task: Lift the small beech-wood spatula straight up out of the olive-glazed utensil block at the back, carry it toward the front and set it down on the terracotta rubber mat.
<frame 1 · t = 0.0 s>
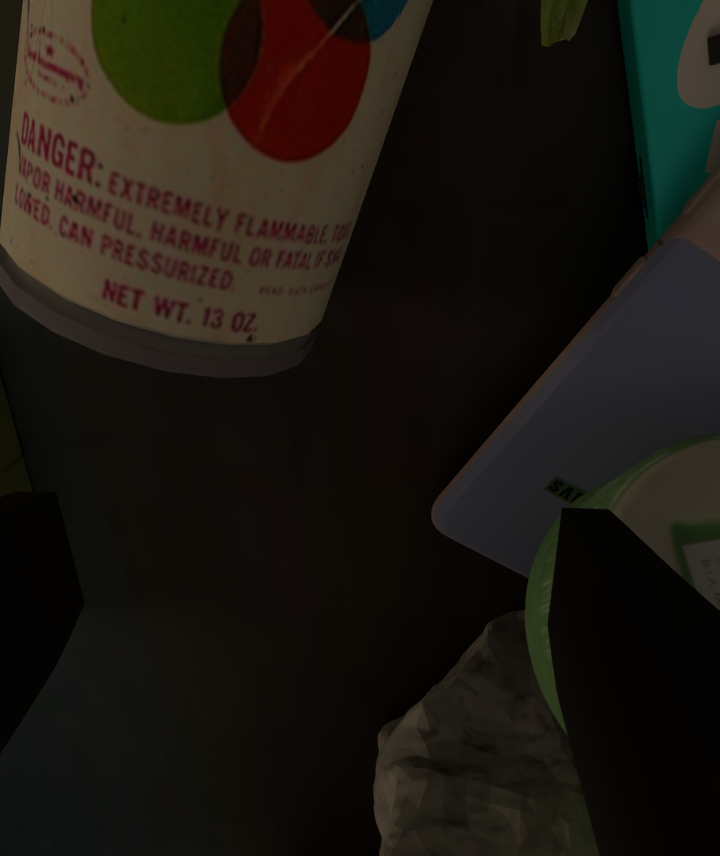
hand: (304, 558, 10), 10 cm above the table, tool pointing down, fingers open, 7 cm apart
decorative stone: (505, 712, 25), on the table, touching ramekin
aerosol can: (164, 306, 15), point 3 cm above the table, touching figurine, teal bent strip, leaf
smartphone 2: (512, 573, 21), point 1 cm above the table, touching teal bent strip, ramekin
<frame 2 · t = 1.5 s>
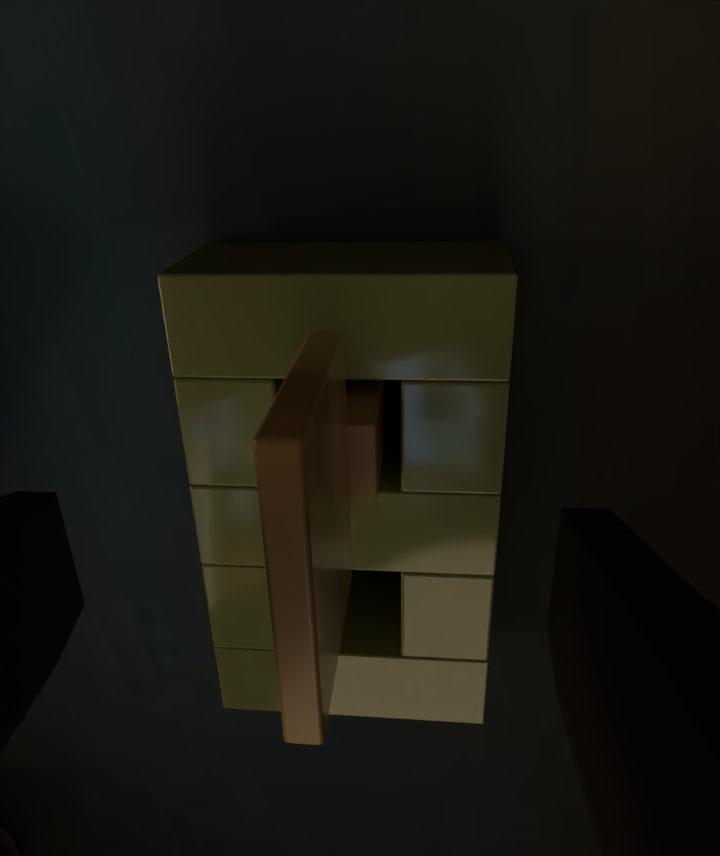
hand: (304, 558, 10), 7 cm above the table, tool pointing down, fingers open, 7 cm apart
spatula: (355, 380, 16), resting in utensil block
utensil block: (357, 462, 17), on the table
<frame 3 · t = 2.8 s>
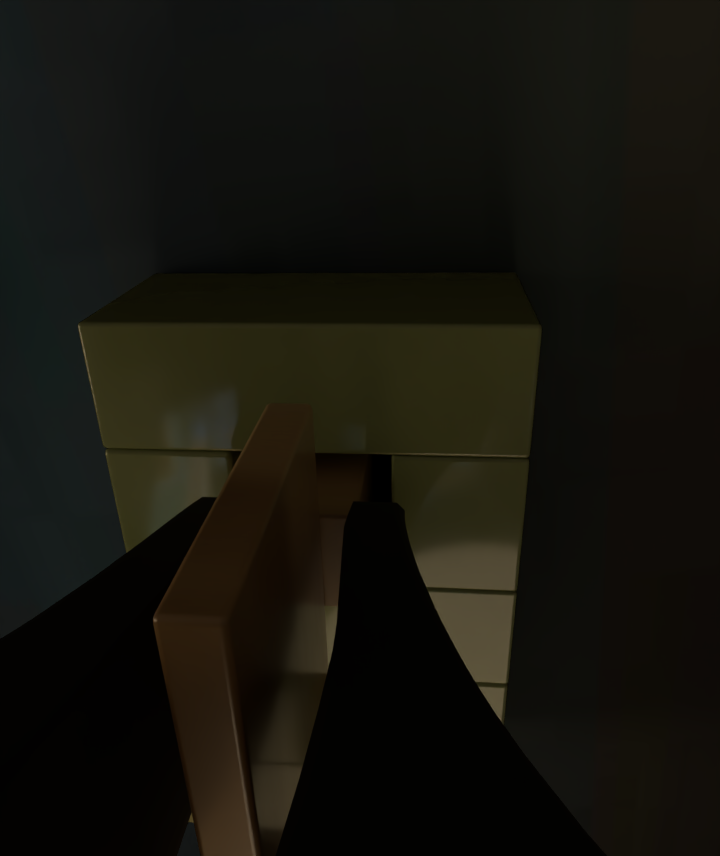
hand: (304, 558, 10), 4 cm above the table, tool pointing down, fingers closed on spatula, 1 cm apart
spatula: (337, 436, 13), resting in utensil block, touching gripper
utensil block: (342, 530, 14), on the table
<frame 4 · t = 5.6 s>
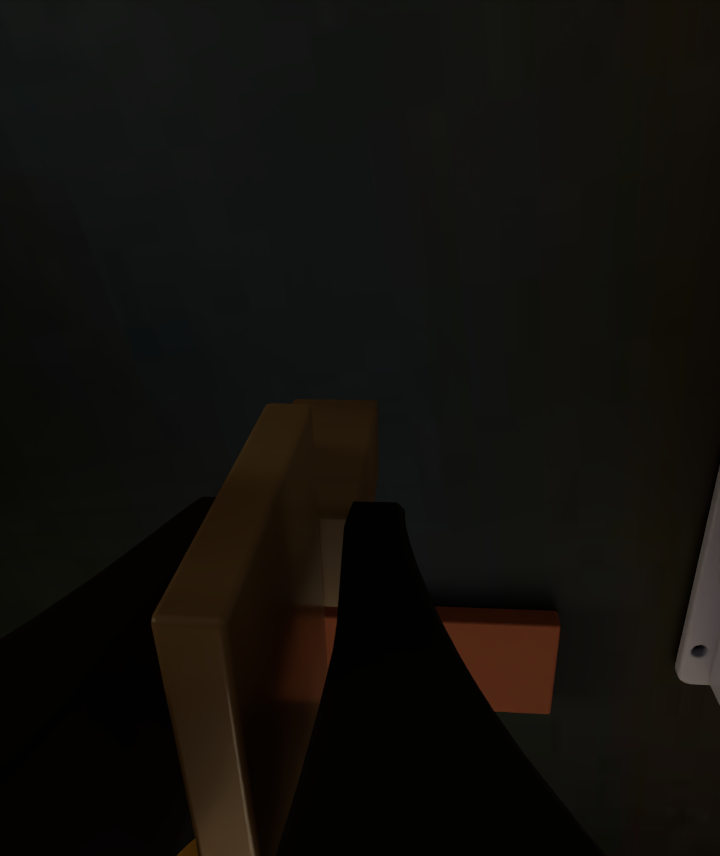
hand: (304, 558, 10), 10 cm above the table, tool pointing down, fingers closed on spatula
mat: (378, 647, 24), on the table
spatula: (337, 436, 13), point 6 cm above the table, touching gripper
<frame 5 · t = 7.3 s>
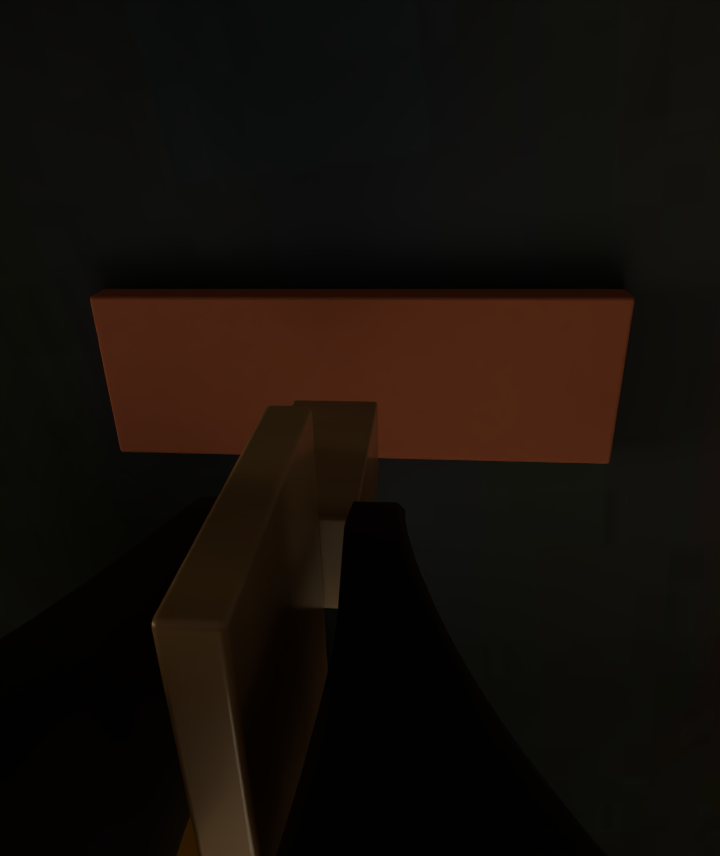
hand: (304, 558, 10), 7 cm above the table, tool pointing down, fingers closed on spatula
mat: (357, 369, 16), on the table
apple: (279, 700, 21), on the table, touching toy
spatula: (337, 437, 13), point 4 cm above the table, touching gripper
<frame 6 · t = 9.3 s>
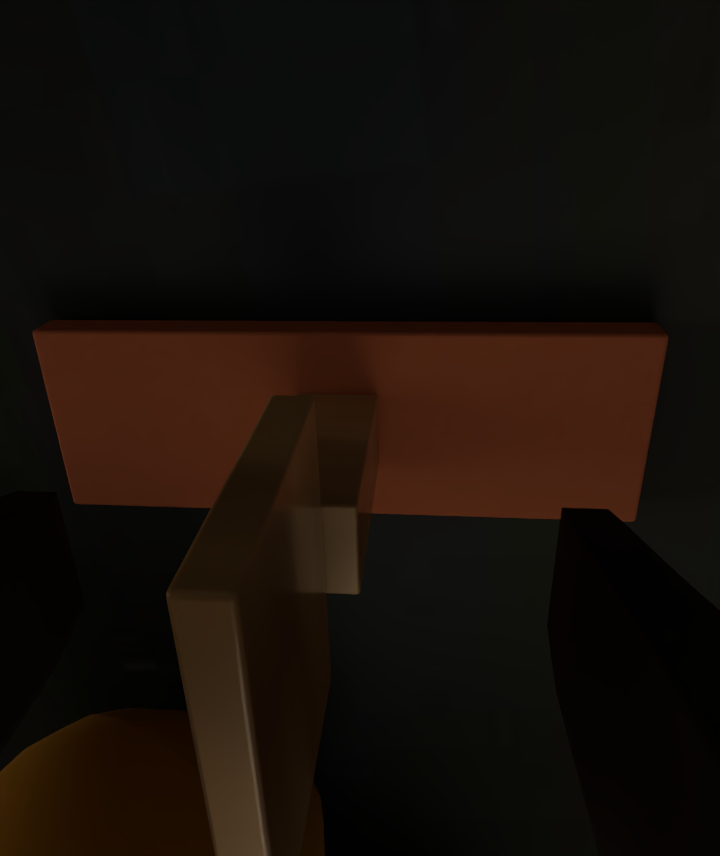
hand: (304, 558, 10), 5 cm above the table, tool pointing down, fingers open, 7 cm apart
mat: (344, 412, 14), on the table
apple: (261, 769, 19), on the table, touching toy
spatula: (338, 430, 14), point 1 cm above the table, touching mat
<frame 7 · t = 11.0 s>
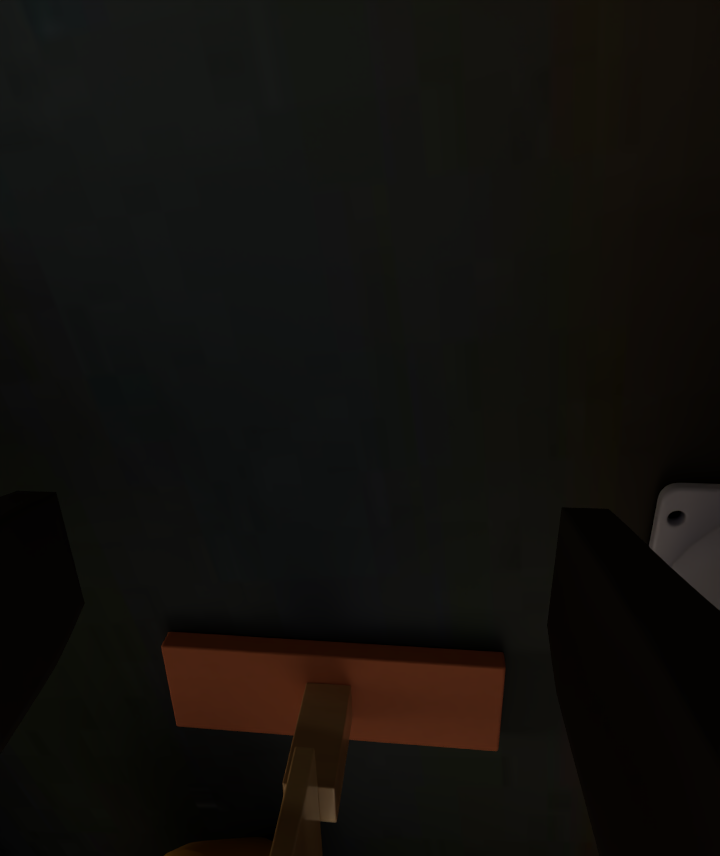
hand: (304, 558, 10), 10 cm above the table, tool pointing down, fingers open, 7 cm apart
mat: (333, 682, 25), on the table
spatula: (329, 700, 24), point 1 cm above the table, touching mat
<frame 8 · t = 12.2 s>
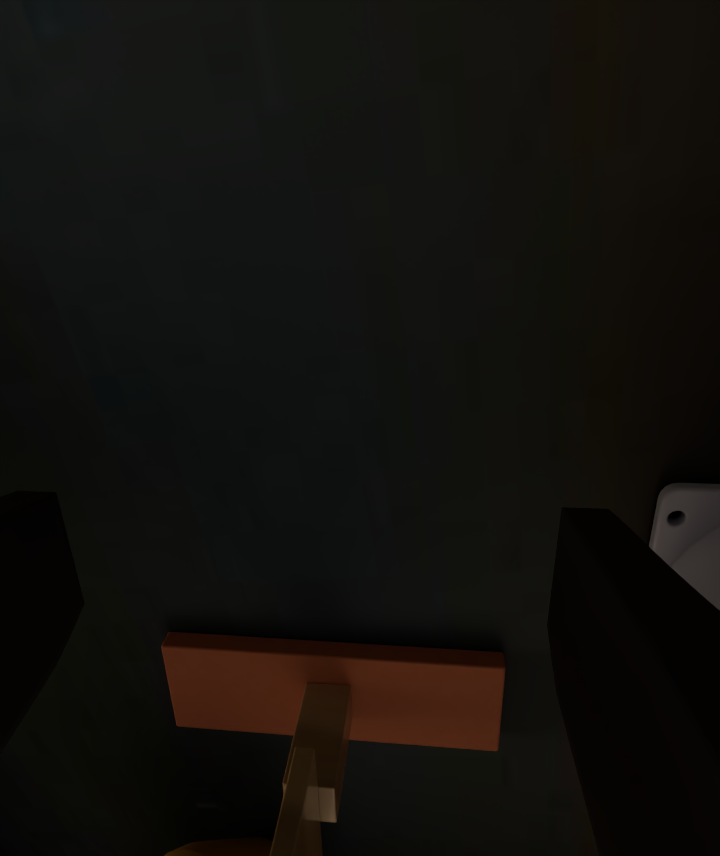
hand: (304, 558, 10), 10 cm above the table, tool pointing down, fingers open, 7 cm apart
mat: (333, 682, 25), on the table
spatula: (329, 700, 24), point 1 cm above the table, touching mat
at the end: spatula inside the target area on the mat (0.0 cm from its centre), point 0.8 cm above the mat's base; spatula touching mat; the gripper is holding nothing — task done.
